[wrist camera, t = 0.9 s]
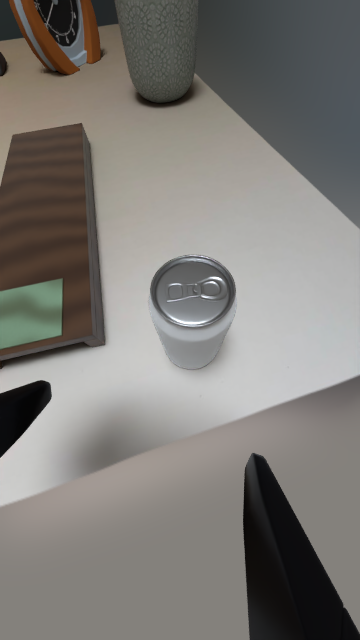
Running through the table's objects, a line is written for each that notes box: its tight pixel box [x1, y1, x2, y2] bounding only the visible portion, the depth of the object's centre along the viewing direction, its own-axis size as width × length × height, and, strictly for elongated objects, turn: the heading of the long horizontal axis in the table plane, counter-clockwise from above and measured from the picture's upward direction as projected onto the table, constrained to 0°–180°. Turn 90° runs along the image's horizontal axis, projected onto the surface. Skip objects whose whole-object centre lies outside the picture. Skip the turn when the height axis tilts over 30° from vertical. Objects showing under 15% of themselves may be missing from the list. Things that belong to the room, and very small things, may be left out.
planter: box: [115, 0, 198, 103], centre depth 45 cm, size 17×17×15 cm
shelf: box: [0, 123, 105, 369], centre depth 32 cm, size 48×14×4 cm, turn 13°
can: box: [149, 255, 237, 369], centre depth 18 cm, size 6×6×12 cm
